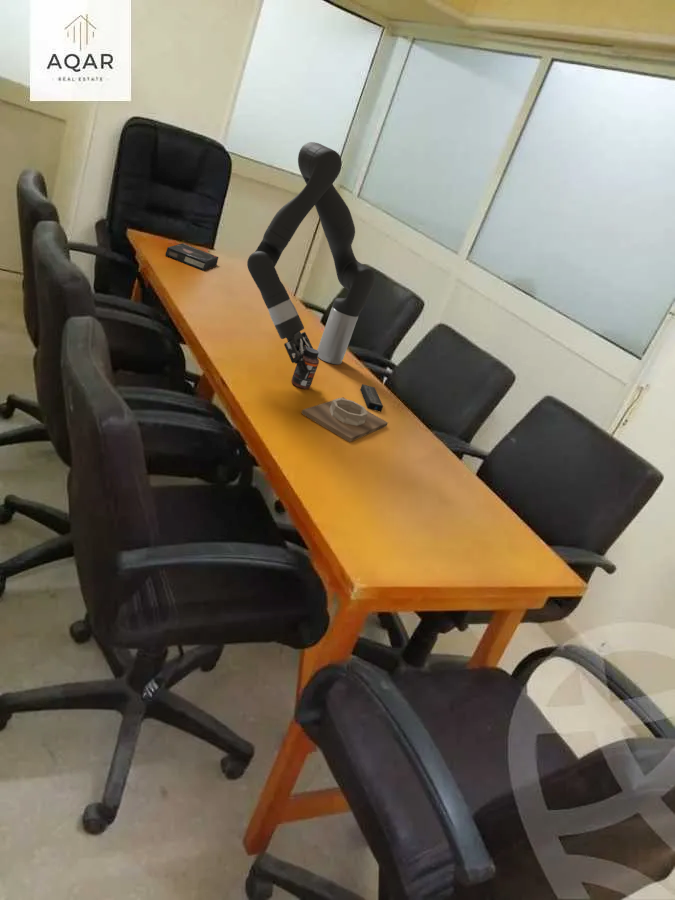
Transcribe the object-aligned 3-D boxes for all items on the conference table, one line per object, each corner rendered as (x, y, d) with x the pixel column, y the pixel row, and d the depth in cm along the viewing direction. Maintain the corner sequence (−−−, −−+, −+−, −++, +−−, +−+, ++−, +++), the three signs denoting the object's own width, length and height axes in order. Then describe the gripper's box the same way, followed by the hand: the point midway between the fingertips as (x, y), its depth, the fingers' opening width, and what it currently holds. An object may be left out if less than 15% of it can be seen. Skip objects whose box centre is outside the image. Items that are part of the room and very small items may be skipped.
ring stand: (341, 400, 202) (346, 388, 200) (386, 426, 196) (391, 413, 194) (301, 413, 183) (305, 399, 181) (349, 442, 177) (355, 428, 176)
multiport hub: (372, 393, 217) (374, 387, 216) (380, 413, 205) (383, 406, 204) (359, 390, 216) (362, 383, 215) (367, 409, 204) (369, 402, 203)
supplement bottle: (307, 391, 199) (319, 356, 194) (288, 384, 199) (300, 348, 194) (312, 385, 204) (324, 351, 199) (293, 378, 204) (305, 343, 200)
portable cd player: (164, 257, 277) (166, 247, 276) (180, 252, 293) (182, 243, 291) (202, 271, 277) (204, 262, 275) (216, 266, 293) (218, 257, 291)
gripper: (289, 318, 188) (314, 371, 191) (304, 309, 201) (327, 360, 204) (266, 328, 190) (291, 381, 194) (282, 319, 203) (305, 369, 207)
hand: (309, 370), depth 199 cm, fingers open, 8 cm apart
